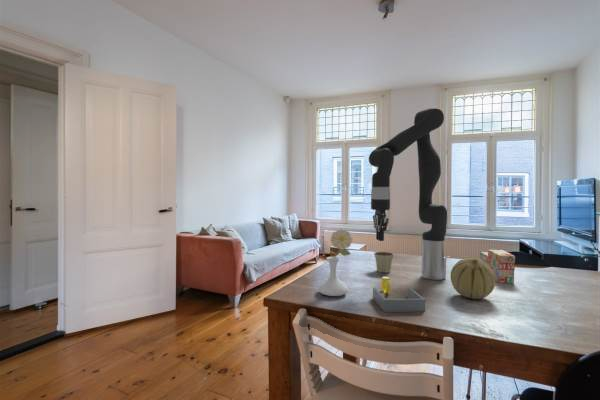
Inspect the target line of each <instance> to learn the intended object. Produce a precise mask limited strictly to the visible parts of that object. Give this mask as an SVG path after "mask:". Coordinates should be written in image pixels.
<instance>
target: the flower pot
mask: <svg viewBox="0 0 600 400" xmlns="http://www.w3.org/2000/svg"><path fill="white" fill-rule="evenodd" d="M373 255H374V257H375V263H376V264H375V265H376V270H377V272H378V273H385V274H388V273H390V272H391V269H392V262H393V259H394V255H395V254H394V253H393V252H389V251H387V252H386V251H376V252H374V253H373Z"/></svg>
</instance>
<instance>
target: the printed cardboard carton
mask: <svg viewBox="0 0 600 400" xmlns="http://www.w3.org/2000/svg"><path fill="white" fill-rule="evenodd" d="M479 254H480V256H479V257H480V260H482V261H483V262H485V263H486V264H488V265H489V266H490V267H491V269H492V271H493V273H494V276H495V283H498V284H510V285H514V283H515V270H516V269H515V267H516V263H515V262H516V256H515V255H514V254H512V253H510V252H508V251H505V250H503V249H488V250H487V251H480V253H479Z"/></svg>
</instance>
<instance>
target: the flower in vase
mask: <svg viewBox="0 0 600 400" xmlns="http://www.w3.org/2000/svg"><path fill="white" fill-rule="evenodd" d="M330 242H331V244H332V247H333V248H336V249H338V251H337V252H336V253H335V252H333V251H332V250H329V249H328V248H327V249H326V251H328V252H329V253H331V254H333V255H334V256H328V257H327V256H326V259H327V261H328V263H329V270H330V271H329V276H328V278H327V279H326V280H324V281H323V282H321V284H319V286H318V289H317V290H318V292H319V293H320V294H321V295H325V296H329V297H340V296H343V295H344V296H345V295H346V294H347V293H348V292H349V289H348V287H347V285H346V284H345V283H344V282H343V281H342V280H340V279H339V278H338V276H337V266H338V262H339V260H340V259H341V258H340V257H339V256H337V255H338V254H340V255H342V256H345V257H346V256H349V255H351V252H350V251H349V250H347V248H350V247H351V245H352V242H353V237H352V234H350V232H349V230H348V231H347V230H345V229H342V228H340V229H336V231H333V232H332V234H331V237H330Z"/></svg>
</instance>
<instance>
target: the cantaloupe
mask: <svg viewBox="0 0 600 400" xmlns="http://www.w3.org/2000/svg"><path fill="white" fill-rule="evenodd" d="M450 281H451V282H450V283H451V285H452V287H453V289H454V290H455V291H456V292H457V293H458V294H459V295H461V296H462V297H465V298H467V299H471V300H478V299H479V300H480V299H481V300H482V299H485V298H487V297H488V296H489V295H490V294H491V293H492V292H493V291H494V289H495V286H496V281H495V276H494V273H493V271H492V269H491V267H490V266H489V265H488V264H486V263H485V262H483V261H482V260H481V259H479V258H472V257H466V258H462V259H460V260H458V261H457V262H456V263H455V264H454V265H453V267H452V268H451V270H450Z"/></svg>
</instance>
